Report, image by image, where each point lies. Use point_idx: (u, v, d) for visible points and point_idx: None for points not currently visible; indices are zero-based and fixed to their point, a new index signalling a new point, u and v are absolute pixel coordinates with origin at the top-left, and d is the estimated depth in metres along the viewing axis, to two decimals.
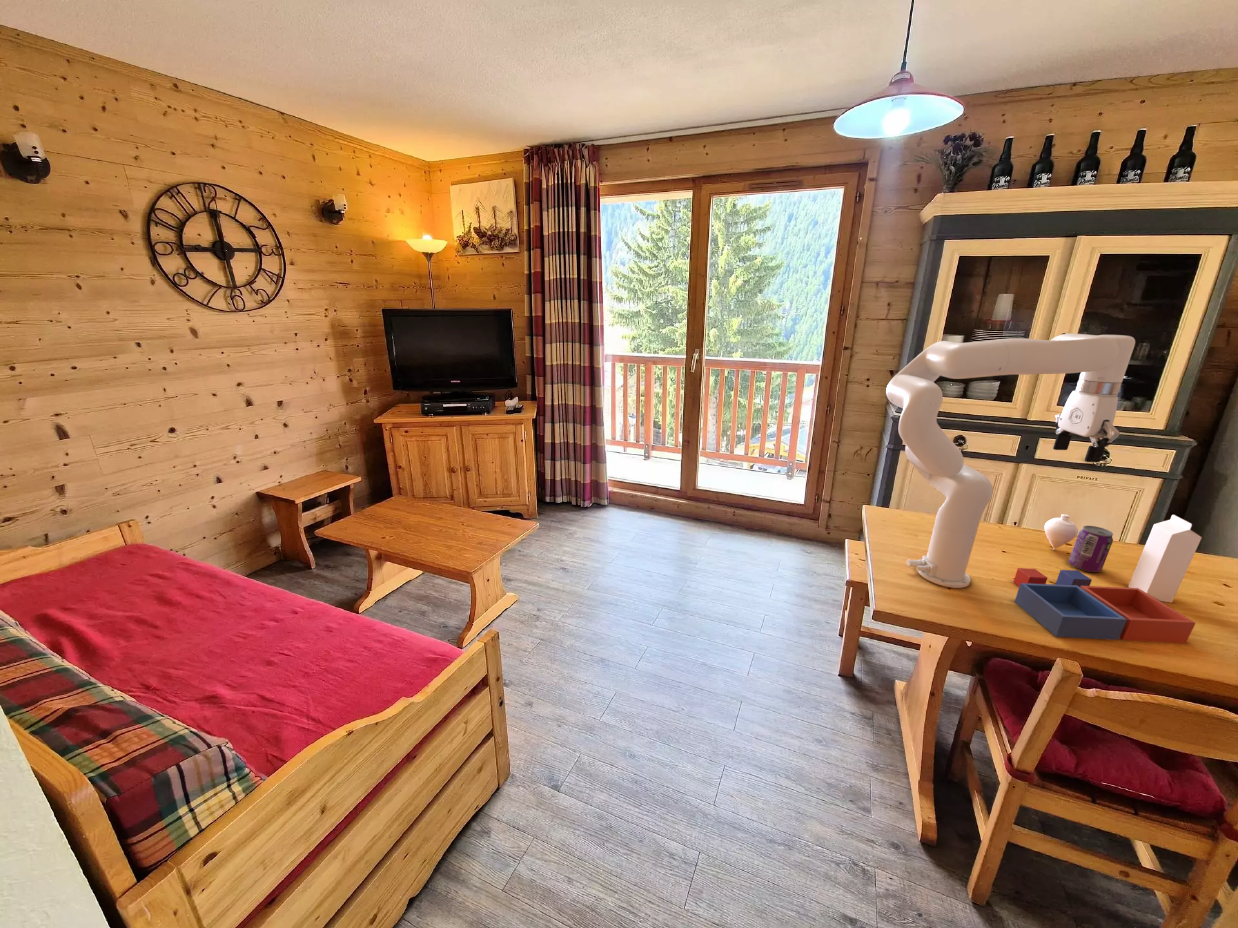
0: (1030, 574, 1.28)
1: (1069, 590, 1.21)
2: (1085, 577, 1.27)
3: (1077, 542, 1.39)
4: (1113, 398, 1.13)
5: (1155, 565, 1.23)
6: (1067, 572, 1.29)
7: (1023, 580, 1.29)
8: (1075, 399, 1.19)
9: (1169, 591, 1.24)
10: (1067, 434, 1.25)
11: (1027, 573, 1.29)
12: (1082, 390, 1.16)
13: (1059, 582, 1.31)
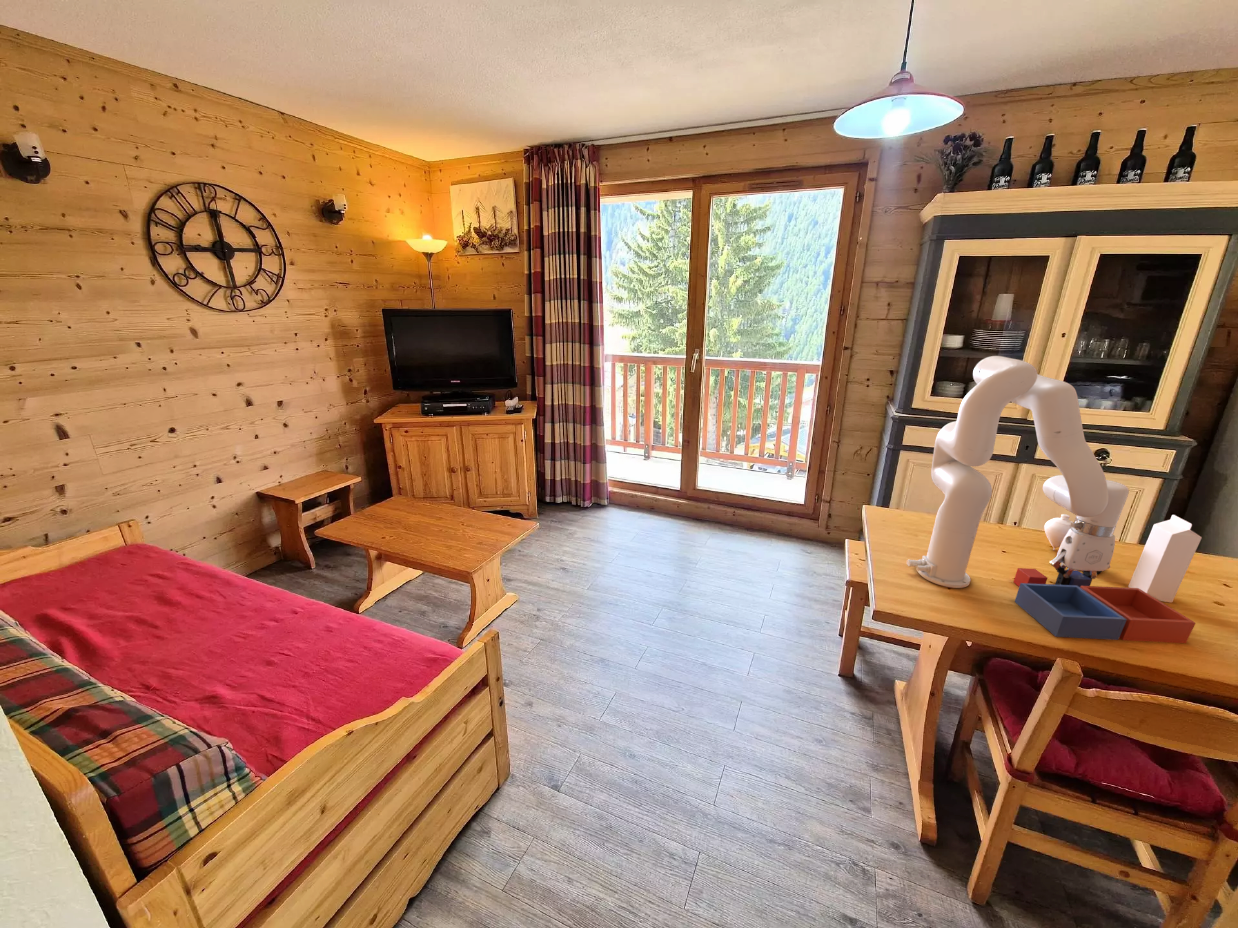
0: (1030, 574, 1.28)
1: (1069, 590, 1.21)
2: (1085, 577, 1.27)
3: None
4: None
5: (1155, 565, 1.23)
6: None
7: (1023, 580, 1.29)
8: (1091, 542, 1.22)
9: (1169, 591, 1.24)
10: None
11: (1027, 573, 1.29)
12: (1107, 536, 1.20)
13: None
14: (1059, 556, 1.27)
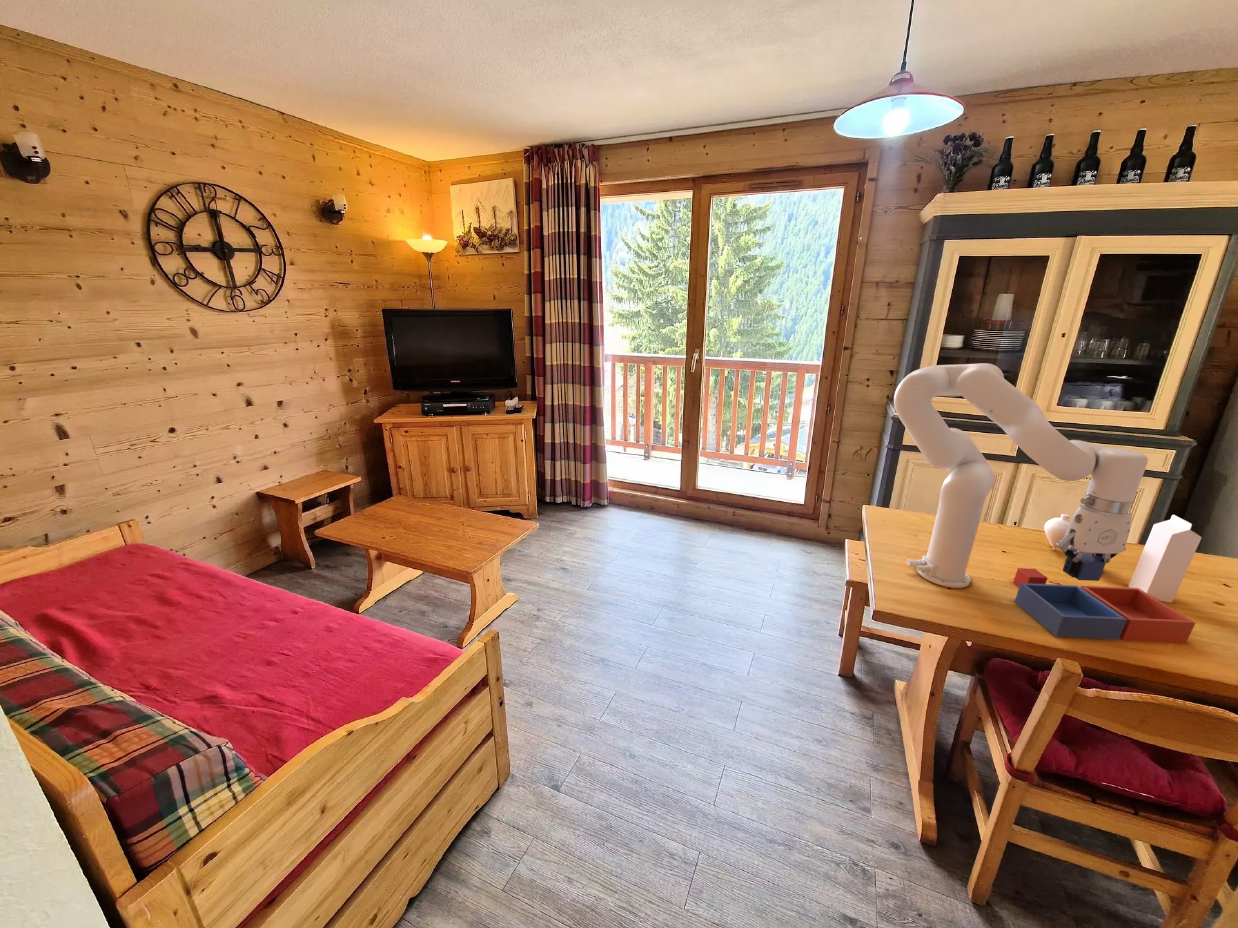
0: (1030, 574, 1.28)
1: (1069, 590, 1.21)
2: (1097, 561, 1.11)
3: None
4: None
5: (1155, 565, 1.23)
6: None
7: (1023, 580, 1.29)
8: (1104, 521, 1.06)
9: (1169, 591, 1.24)
10: None
11: (1027, 573, 1.29)
12: (1123, 512, 1.05)
13: None
14: (1067, 537, 1.11)
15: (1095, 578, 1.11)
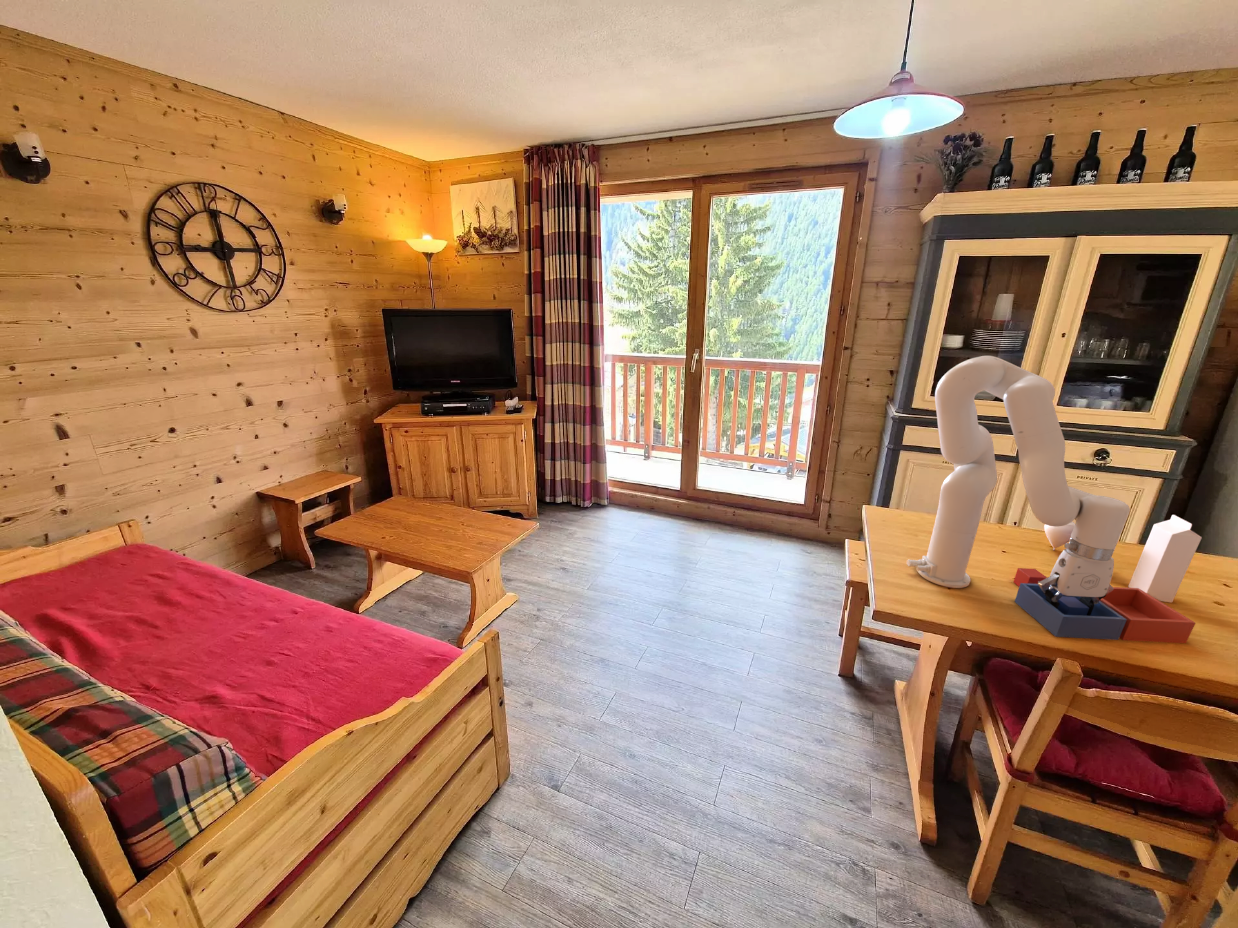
0: (1030, 574, 1.28)
1: None
2: (1082, 605, 1.14)
3: None
4: None
5: (1155, 565, 1.23)
6: (1062, 599, 1.16)
7: (1023, 580, 1.29)
8: (1087, 566, 1.09)
9: (1169, 591, 1.24)
10: None
11: (1027, 573, 1.29)
12: (1105, 559, 1.08)
13: None
14: (1050, 578, 1.14)
15: None
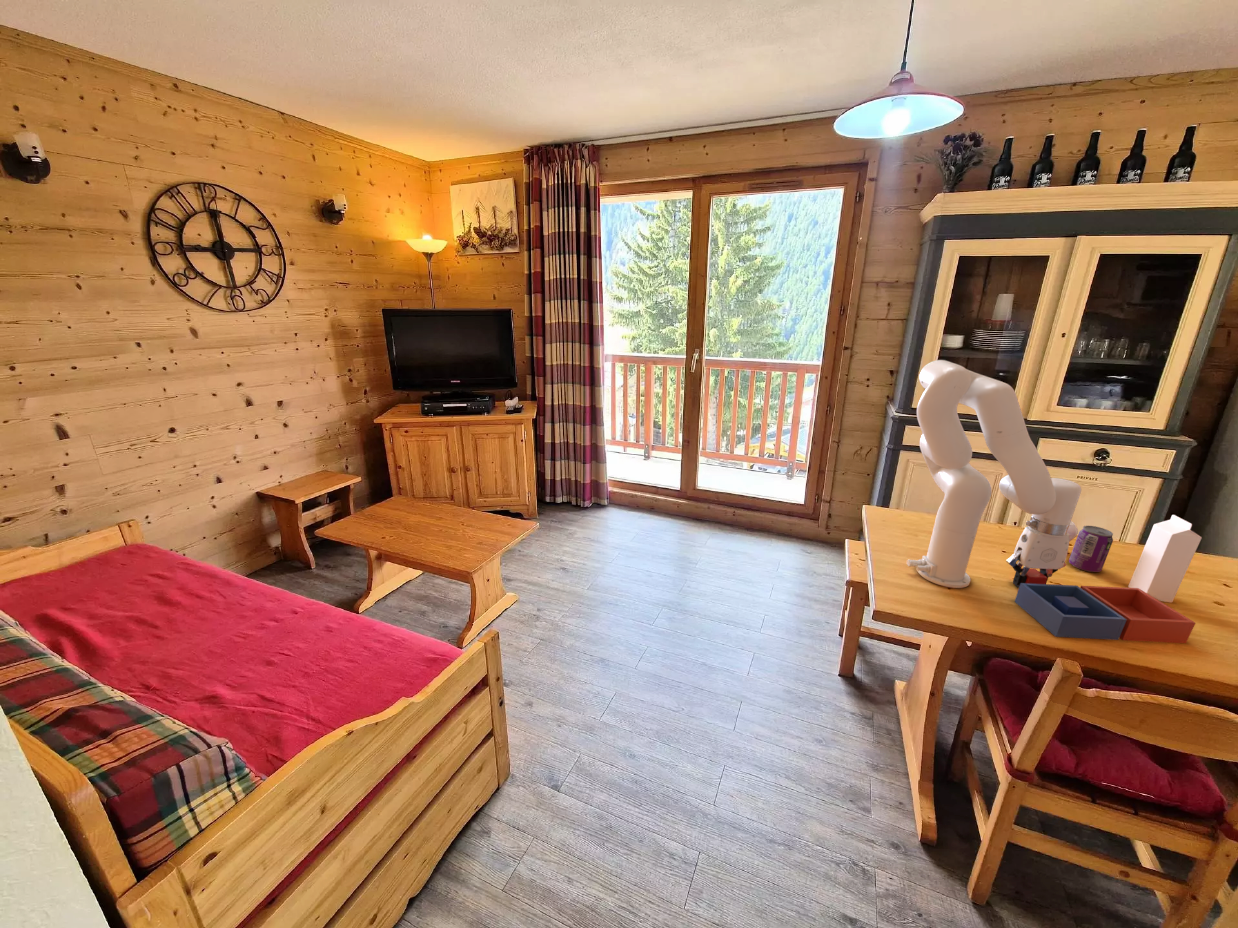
0: (1030, 574, 1.28)
1: (1069, 590, 1.21)
2: (1082, 605, 1.14)
3: (1077, 542, 1.39)
4: None
5: (1155, 565, 1.23)
6: (1062, 599, 1.16)
7: None
8: (1045, 541, 1.23)
9: (1169, 591, 1.24)
10: None
11: (1027, 573, 1.29)
12: (1061, 534, 1.21)
13: None
14: (1015, 554, 1.28)
15: None
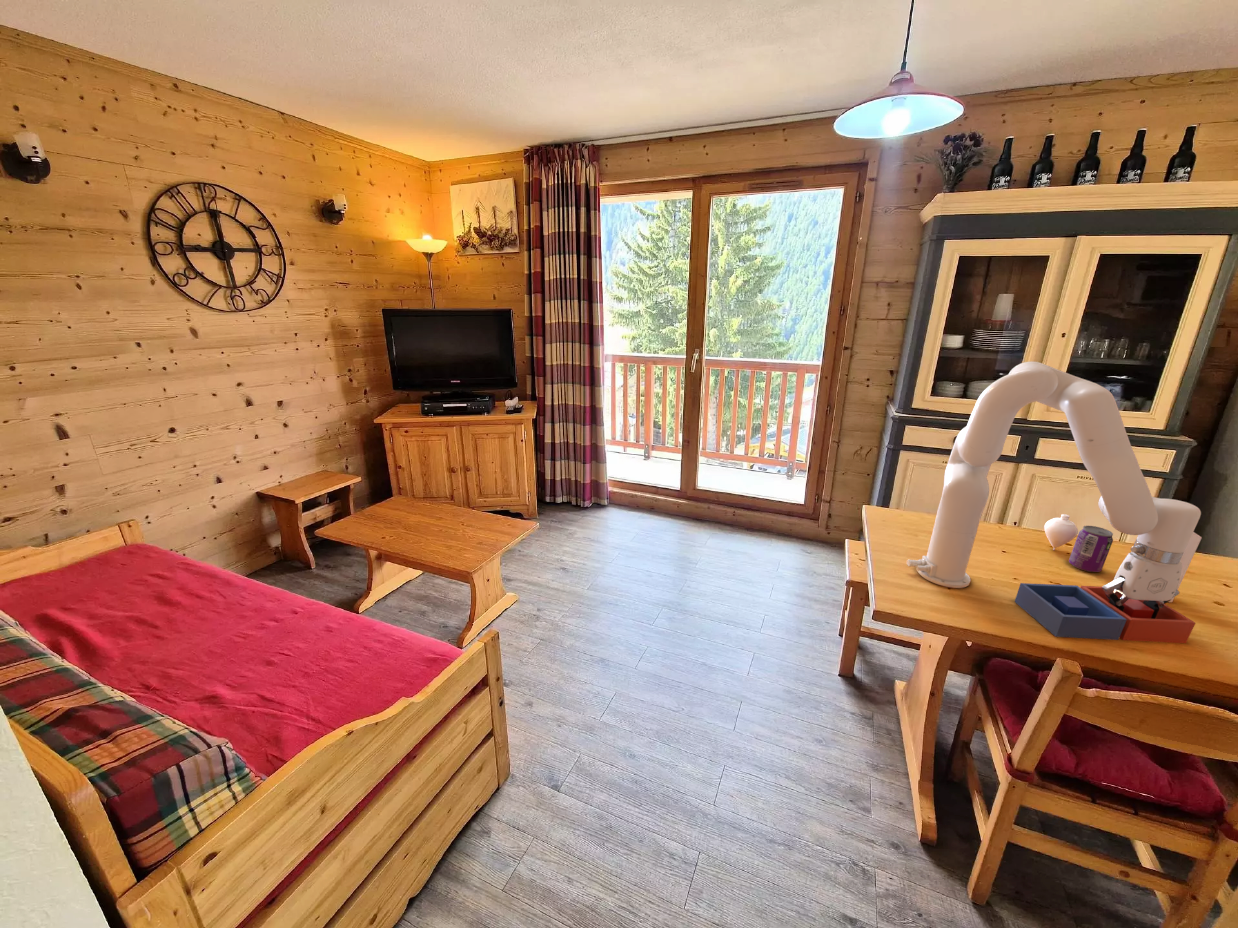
0: (1133, 605, 1.14)
1: (1069, 590, 1.21)
2: (1082, 605, 1.14)
3: (1077, 542, 1.39)
4: None
5: None
6: (1062, 599, 1.16)
7: (1125, 613, 1.15)
8: (1154, 569, 1.09)
9: None
10: None
11: (1129, 605, 1.14)
12: (1174, 562, 1.07)
13: None
14: (1115, 581, 1.13)
15: None
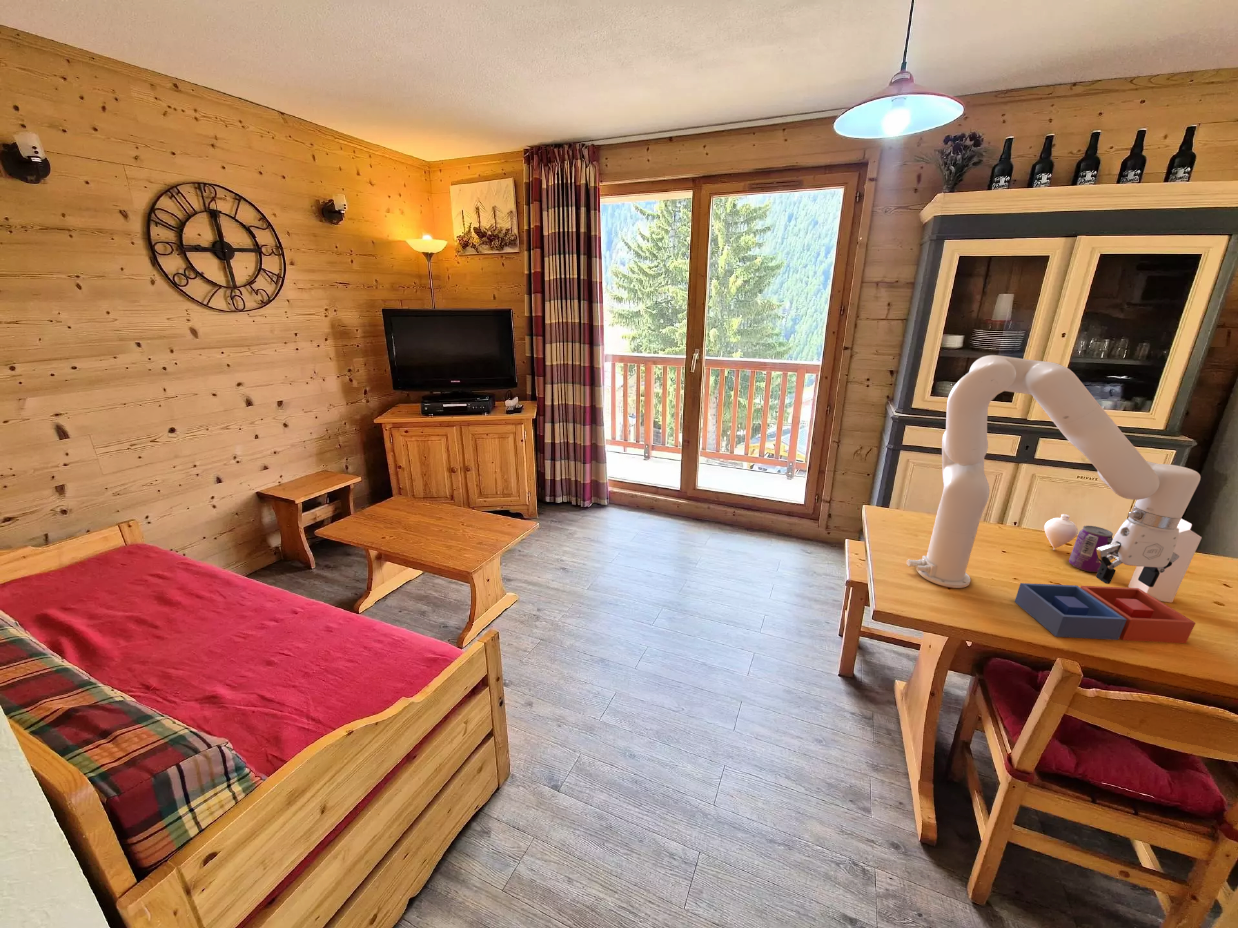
0: (1133, 605, 1.14)
1: (1069, 590, 1.21)
2: (1082, 605, 1.14)
3: (1077, 542, 1.39)
4: None
5: None
6: (1062, 599, 1.16)
7: (1125, 613, 1.15)
8: (1151, 535, 1.08)
9: (1169, 591, 1.24)
10: None
11: (1129, 605, 1.14)
12: (1171, 528, 1.07)
13: None
14: (1111, 545, 1.13)
15: None
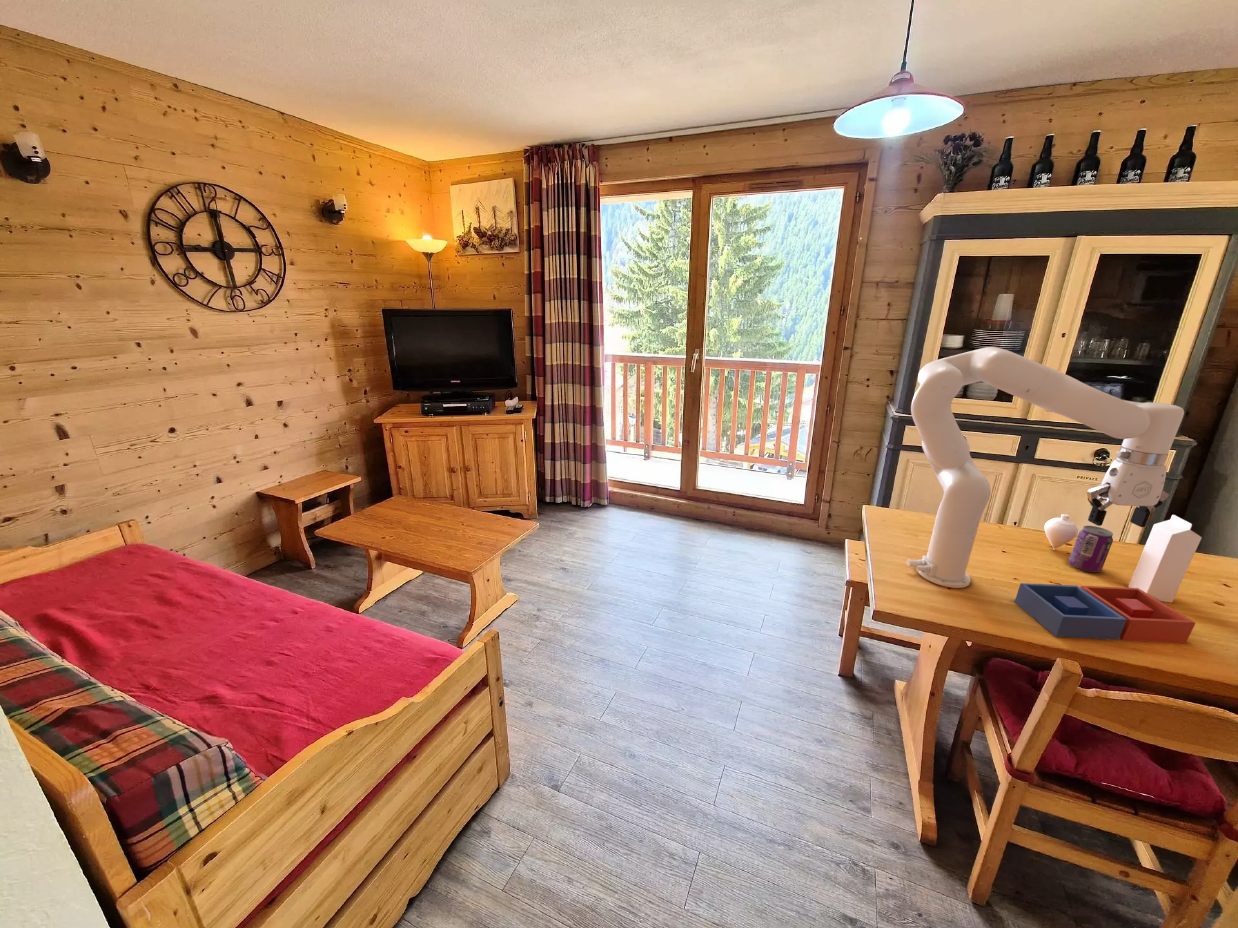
0: (1133, 605, 1.14)
1: (1069, 590, 1.21)
2: (1082, 605, 1.14)
3: (1077, 542, 1.39)
4: None
5: (1155, 565, 1.23)
6: (1062, 599, 1.16)
7: (1125, 613, 1.15)
8: (1139, 473, 1.10)
9: (1169, 591, 1.24)
10: None
11: (1129, 605, 1.14)
12: (1158, 464, 1.08)
13: None
14: (1101, 486, 1.14)
15: None
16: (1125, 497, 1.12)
